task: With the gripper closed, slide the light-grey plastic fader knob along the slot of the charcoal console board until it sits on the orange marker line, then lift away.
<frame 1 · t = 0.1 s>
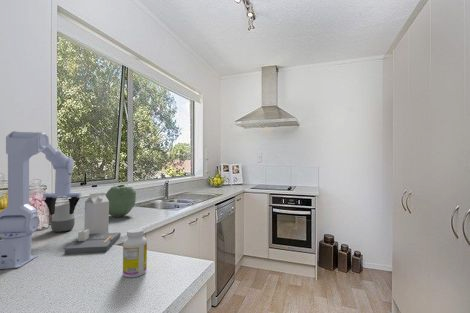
hand: (61, 214, 105), 10 cm above the countertop, fingers open, 7 cm apart
supplement bottle: (134, 273, 71), on the countertop
console board: (95, 244, 95), on the countertop
smart speaker: (62, 231, 114), on the countertop
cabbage: (119, 217, 145), on the countertop
fader knob: (83, 234, 95), point 4 cm above the countertop, slide at 4.5 cm
milk carton: (96, 234, 109), on the countertop
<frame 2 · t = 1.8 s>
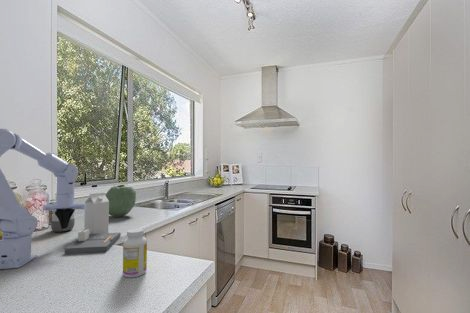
hand: (64, 227, 93), 7 cm above the countertop, fingers closed
nothing on the countertop moved.
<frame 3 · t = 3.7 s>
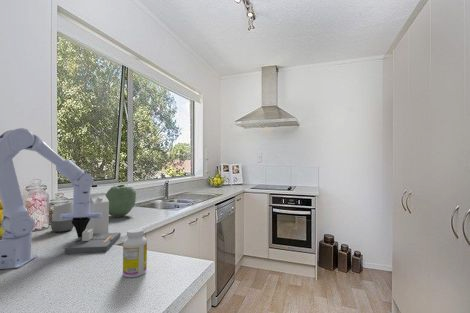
hand: (80, 236, 94), 3 cm above the countertop, fingers closed
fader knob: (87, 234, 95), point 4 cm above the countertop, slide at 3.0 cm, touching gripper
everything else where it was.
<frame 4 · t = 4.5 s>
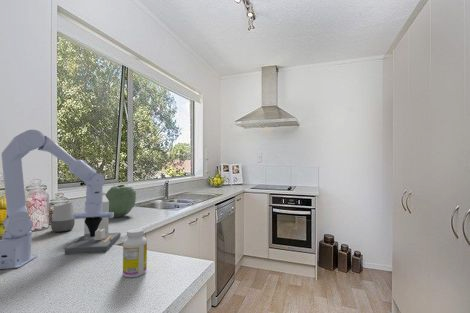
hand: (93, 236, 95), 3 cm above the countertop, fingers closed
fader knob: (100, 234, 96), point 4 cm above the countertop, slide at -1.6 cm, touching gripper
everything else where it was.
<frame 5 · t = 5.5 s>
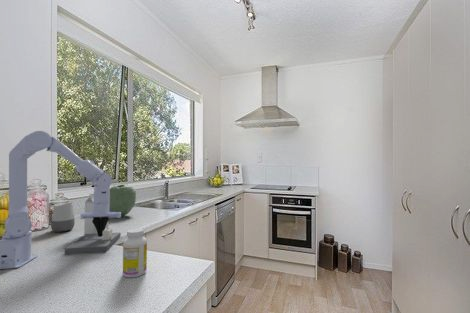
hand: (100, 235, 96), 3 cm above the countertop, fingers closed
fader knob: (107, 233, 96), point 4 cm above the countertop, slide at -4.3 cm, touching gripper
everything else where it was.
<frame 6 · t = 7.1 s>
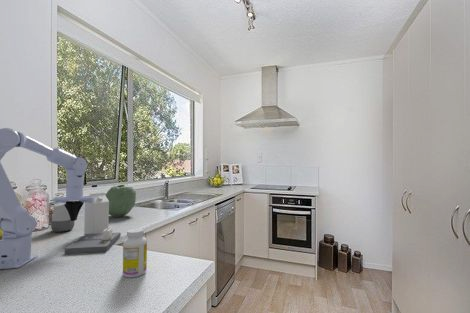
hand: (73, 220, 95), 10 cm above the countertop, fingers closed
fader knob: (107, 233, 96), point 4 cm above the countertop, slide at -4.3 cm
everything else where it was.
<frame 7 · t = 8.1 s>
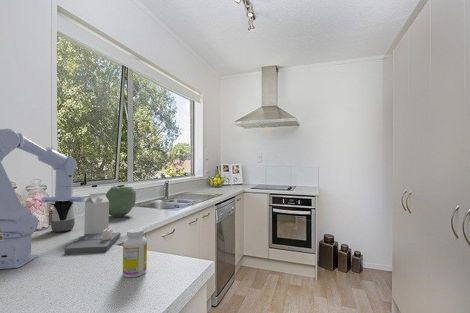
hand: (63, 220, 95), 10 cm above the countertop, fingers closed
nothing on the countertop moved.
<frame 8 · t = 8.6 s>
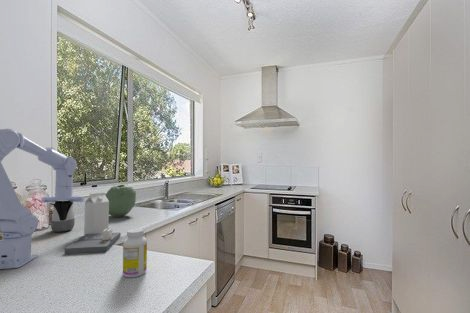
hand: (63, 220, 95), 10 cm above the countertop, fingers closed
nothing on the countertop moved.
at the end: fader knob slide at -4.3 cm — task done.
